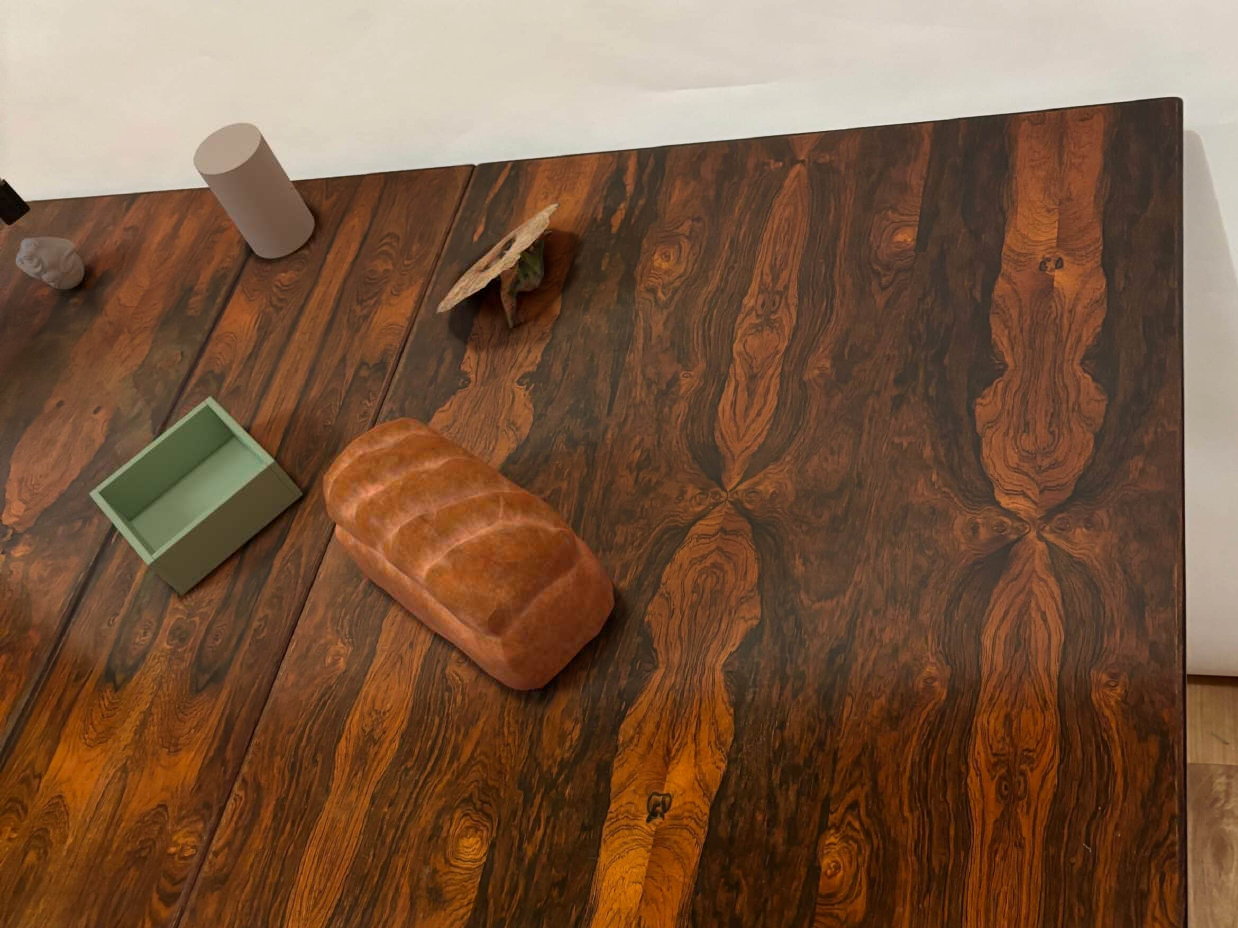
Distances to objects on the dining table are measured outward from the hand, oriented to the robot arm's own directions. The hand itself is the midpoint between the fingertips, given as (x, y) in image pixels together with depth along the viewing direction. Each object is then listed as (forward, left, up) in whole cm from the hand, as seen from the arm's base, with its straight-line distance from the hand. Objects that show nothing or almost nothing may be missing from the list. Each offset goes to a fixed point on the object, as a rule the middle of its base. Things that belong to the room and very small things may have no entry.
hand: (2, 200), depth 134 cm
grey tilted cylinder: (+22, -18, -13) cm, 31 cm away
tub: (-6, -47, -13) cm, 49 cm away
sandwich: (+33, -50, -13) cm, 61 cm away
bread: (+8, -78, -13) cm, 79 cm away
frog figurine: (0, 0, -13) cm, 13 cm away
